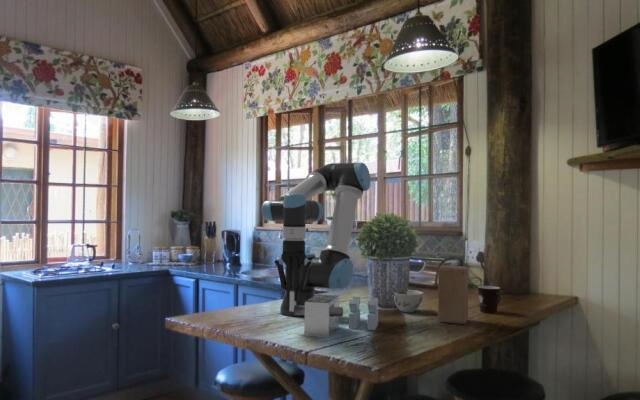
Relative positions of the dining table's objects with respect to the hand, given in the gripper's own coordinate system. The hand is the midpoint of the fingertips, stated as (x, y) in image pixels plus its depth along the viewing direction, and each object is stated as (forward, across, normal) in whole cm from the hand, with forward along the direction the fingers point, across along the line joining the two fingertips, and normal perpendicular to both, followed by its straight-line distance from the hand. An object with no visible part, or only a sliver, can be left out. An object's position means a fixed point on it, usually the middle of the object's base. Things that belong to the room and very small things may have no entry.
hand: (292, 310), depth 169 cm
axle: (+1, +9, 0) cm, 9 cm away
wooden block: (+7, +52, +34) cm, 62 cm away
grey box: (+7, +9, +3) cm, 12 cm away
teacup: (+7, +35, +49) cm, 60 cm away
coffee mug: (+7, +66, +55) cm, 86 cm away
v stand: (+7, +22, +14) cm, 27 cm away
